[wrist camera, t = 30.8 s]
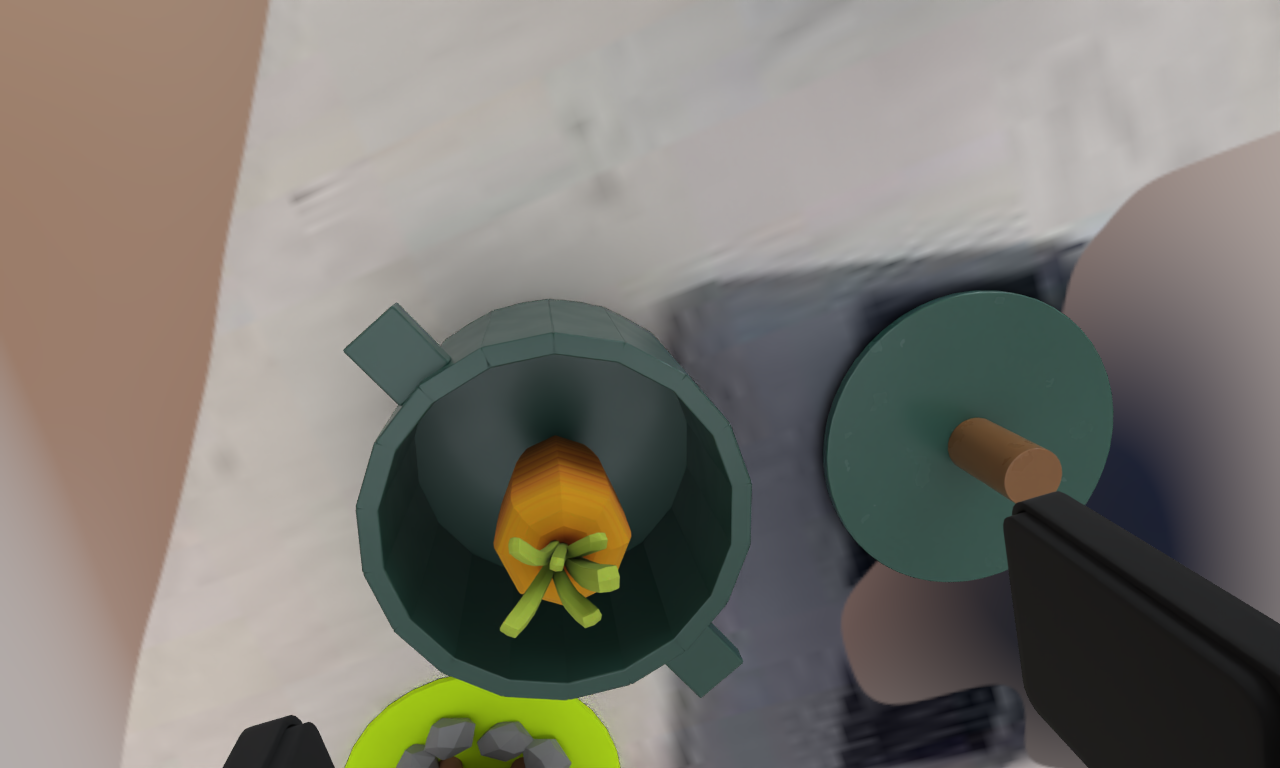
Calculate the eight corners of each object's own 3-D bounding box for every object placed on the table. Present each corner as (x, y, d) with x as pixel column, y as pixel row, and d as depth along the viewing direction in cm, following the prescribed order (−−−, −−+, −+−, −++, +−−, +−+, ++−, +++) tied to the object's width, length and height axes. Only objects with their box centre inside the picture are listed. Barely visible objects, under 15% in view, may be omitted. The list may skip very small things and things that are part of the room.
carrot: (506, 502, 38) (491, 691, 24) (499, 404, 37) (478, 540, 22) (608, 494, 39) (653, 674, 24) (604, 398, 38) (649, 526, 23)
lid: (997, 223, 39) (1083, 229, 33) (1148, 442, 43) (1248, 483, 37) (758, 430, 40) (798, 472, 34) (928, 625, 44) (990, 693, 38)
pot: (524, 188, 35) (522, 186, 26) (789, 489, 41) (864, 576, 31) (290, 401, 36) (208, 471, 27) (579, 668, 41) (592, 804, 32)
